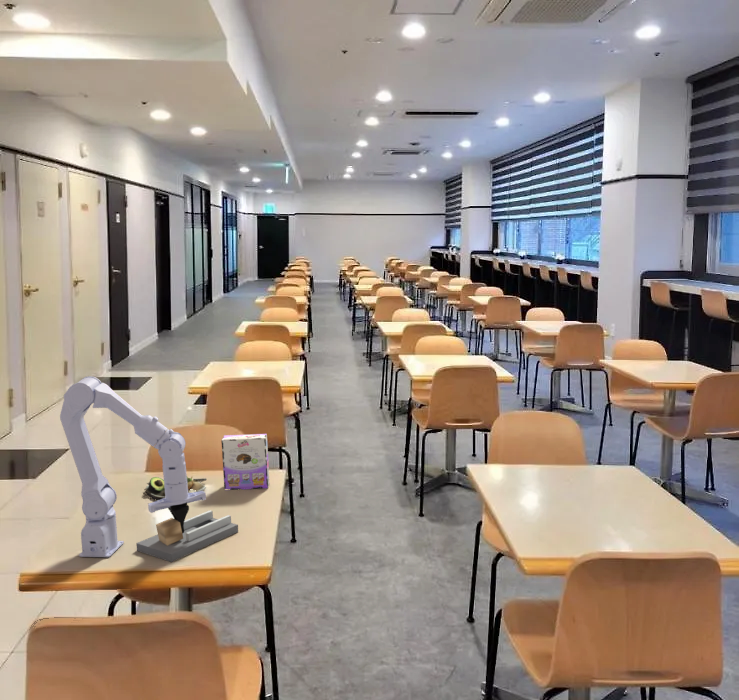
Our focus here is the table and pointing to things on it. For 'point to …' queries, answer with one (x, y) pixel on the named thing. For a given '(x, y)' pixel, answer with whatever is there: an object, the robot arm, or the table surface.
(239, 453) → the cake mix box
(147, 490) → the salad plate
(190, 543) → the rail jig base
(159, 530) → the block
